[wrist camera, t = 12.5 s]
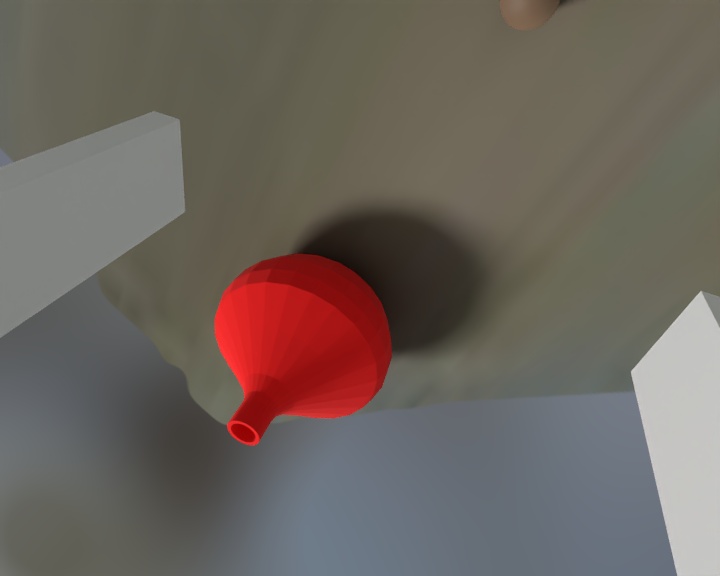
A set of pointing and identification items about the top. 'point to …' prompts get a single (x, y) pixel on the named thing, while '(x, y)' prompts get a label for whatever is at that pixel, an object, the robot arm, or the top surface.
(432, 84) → the top surface
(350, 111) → the top surface
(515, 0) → the posts
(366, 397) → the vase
